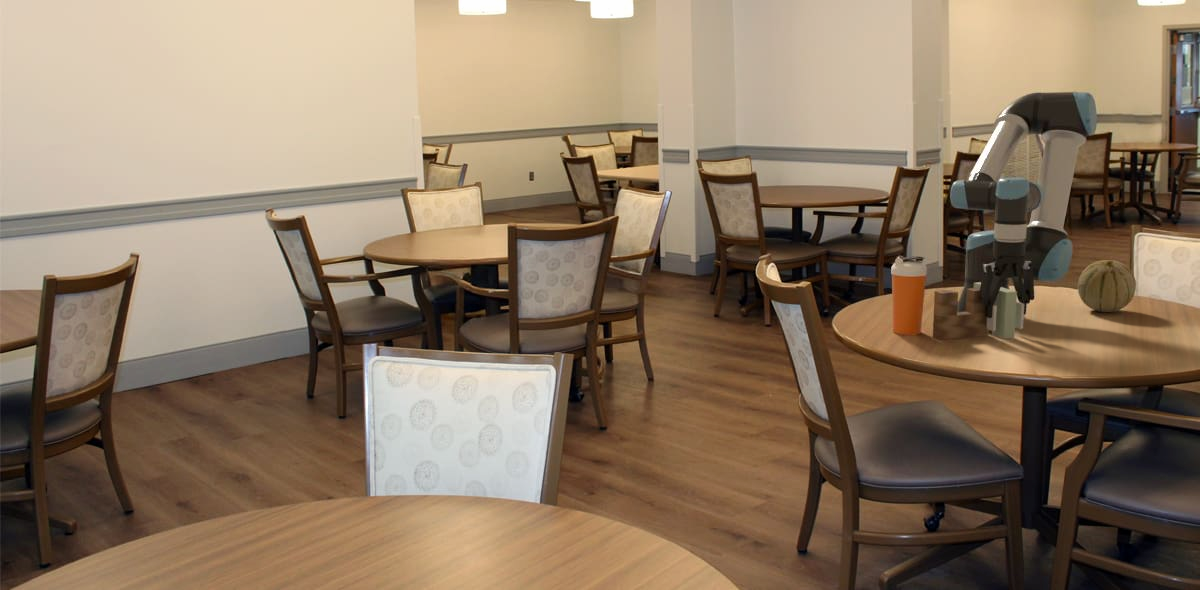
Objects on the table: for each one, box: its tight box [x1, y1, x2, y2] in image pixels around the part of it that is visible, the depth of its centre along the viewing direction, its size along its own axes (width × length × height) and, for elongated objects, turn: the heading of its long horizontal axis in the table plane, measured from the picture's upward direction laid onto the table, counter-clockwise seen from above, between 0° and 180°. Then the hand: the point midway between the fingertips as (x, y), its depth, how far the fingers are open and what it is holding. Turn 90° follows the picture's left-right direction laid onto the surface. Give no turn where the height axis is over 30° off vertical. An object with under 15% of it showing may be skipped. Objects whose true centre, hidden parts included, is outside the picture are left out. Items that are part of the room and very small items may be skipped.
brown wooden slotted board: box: [932, 288, 989, 341], centre depth 258 cm, size 14×3×12 cm, turn 103°
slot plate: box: [974, 282, 1018, 340], centre depth 262 cm, size 14×3×12 cm, turn 13°
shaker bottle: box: [890, 255, 928, 336], centre depth 263 cm, size 9×9×20 cm
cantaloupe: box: [1077, 259, 1137, 313], centre depth 281 cm, size 15×15×15 cm
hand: (1004, 328), depth 258 cm, fingers open, 7 cm apart
